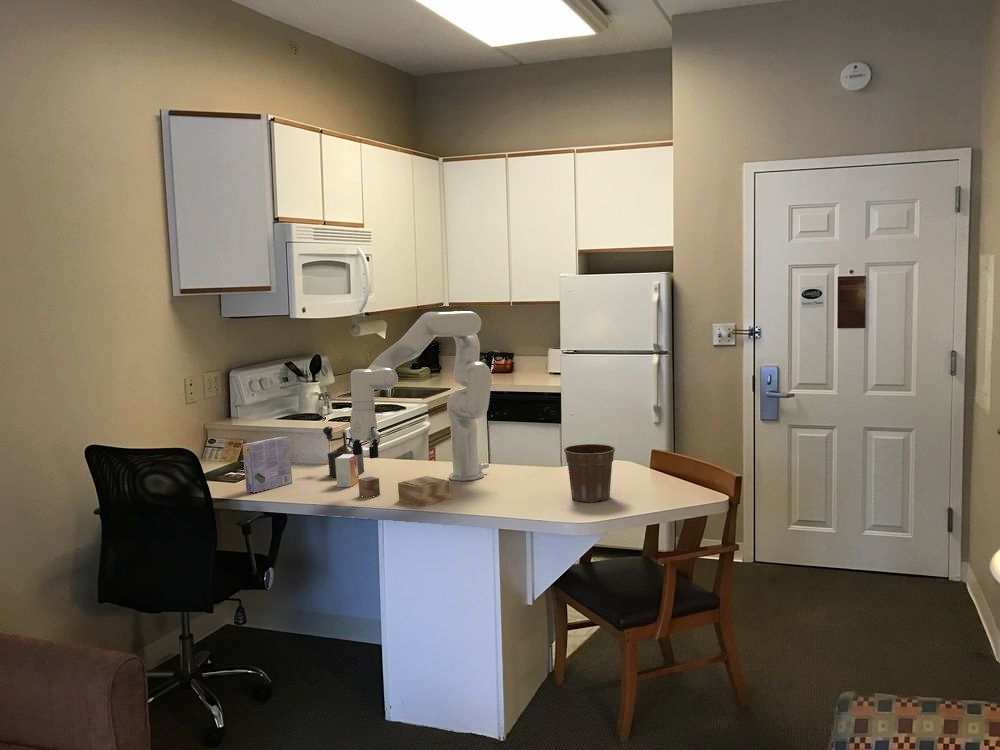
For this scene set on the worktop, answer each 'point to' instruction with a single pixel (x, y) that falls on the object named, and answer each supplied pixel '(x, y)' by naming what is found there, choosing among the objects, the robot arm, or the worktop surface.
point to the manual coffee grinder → (341, 452)
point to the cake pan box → (267, 464)
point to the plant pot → (590, 471)
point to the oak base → (423, 490)
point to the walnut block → (369, 487)
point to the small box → (346, 470)
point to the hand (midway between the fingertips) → (365, 456)
